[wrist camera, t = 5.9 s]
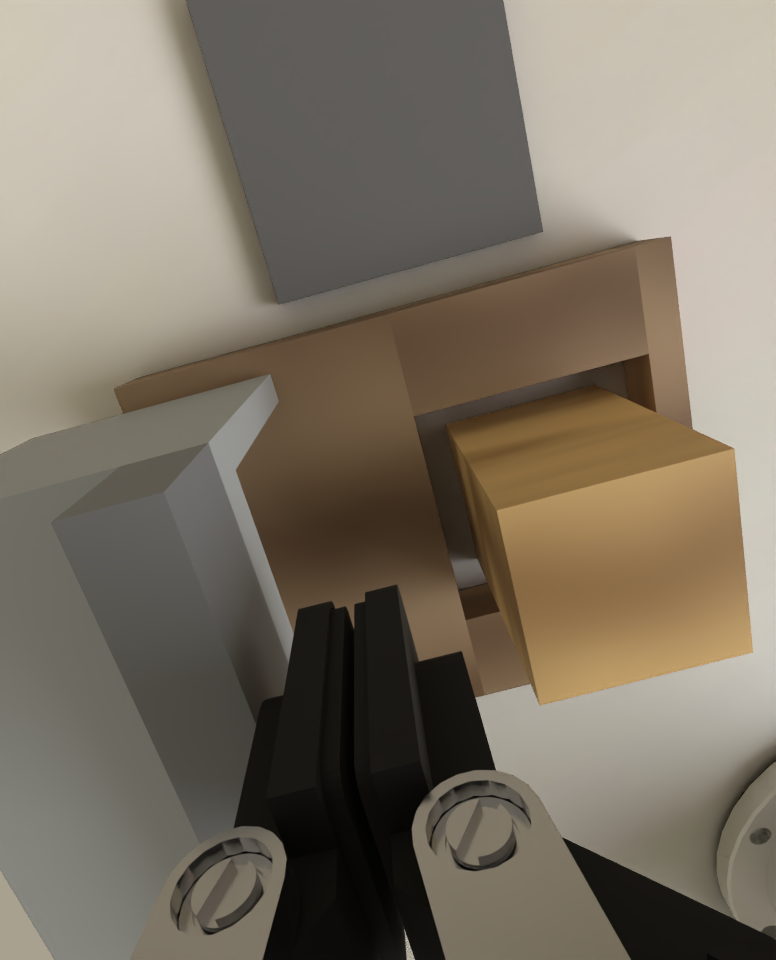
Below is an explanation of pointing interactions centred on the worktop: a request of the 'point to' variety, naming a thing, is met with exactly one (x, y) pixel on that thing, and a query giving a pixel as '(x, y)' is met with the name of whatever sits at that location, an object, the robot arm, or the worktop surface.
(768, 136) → the worktop surface
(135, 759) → the cover
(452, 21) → the mat
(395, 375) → the board
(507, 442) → the block
